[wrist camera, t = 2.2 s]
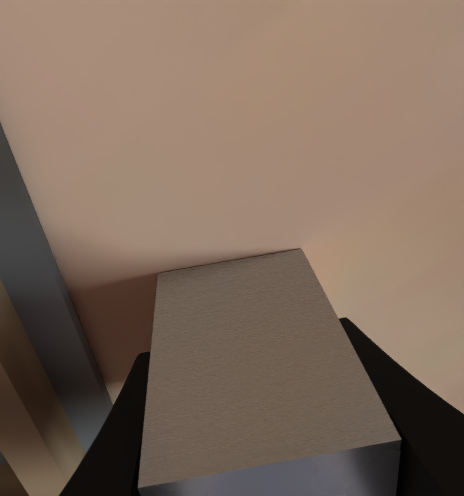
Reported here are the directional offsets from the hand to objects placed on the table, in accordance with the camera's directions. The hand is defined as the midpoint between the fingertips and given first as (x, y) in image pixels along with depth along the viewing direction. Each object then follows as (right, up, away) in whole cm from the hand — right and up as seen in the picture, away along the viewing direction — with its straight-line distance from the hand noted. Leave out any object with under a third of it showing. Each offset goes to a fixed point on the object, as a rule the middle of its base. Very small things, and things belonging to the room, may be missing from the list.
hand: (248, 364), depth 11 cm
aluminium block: (0, +1, +2) cm, 2 cm away
